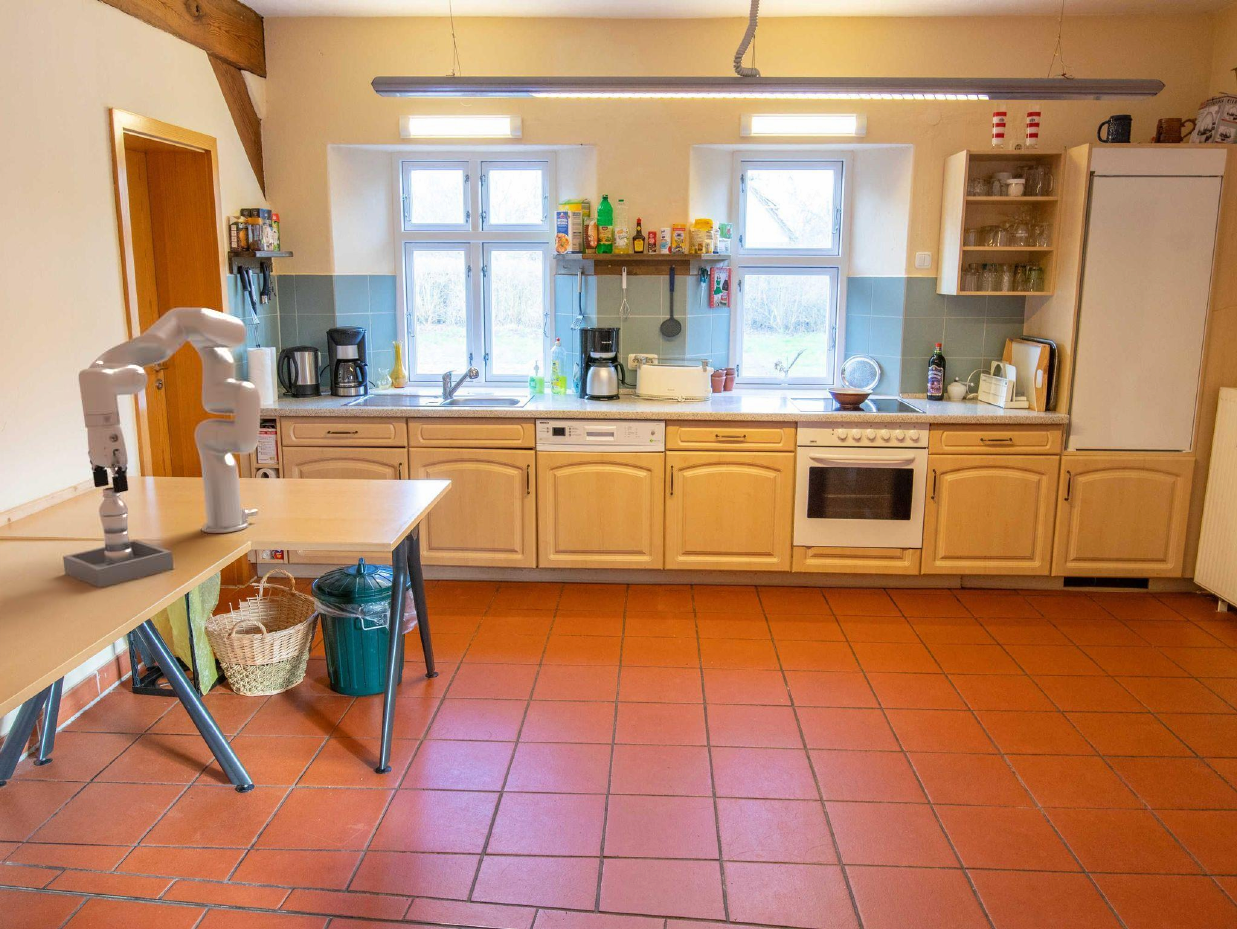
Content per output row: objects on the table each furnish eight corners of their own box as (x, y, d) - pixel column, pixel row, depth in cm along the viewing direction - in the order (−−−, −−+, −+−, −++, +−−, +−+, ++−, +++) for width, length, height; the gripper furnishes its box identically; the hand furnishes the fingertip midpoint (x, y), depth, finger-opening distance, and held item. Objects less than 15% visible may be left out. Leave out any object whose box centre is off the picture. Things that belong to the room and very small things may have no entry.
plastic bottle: (105, 573, 237) (95, 493, 233) (105, 565, 243) (96, 487, 239) (134, 569, 240) (125, 490, 235) (134, 561, 245) (125, 484, 241)
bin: (137, 556, 254) (135, 539, 253) (173, 568, 243) (171, 551, 242) (65, 573, 240) (62, 556, 239) (99, 588, 229) (97, 569, 228)
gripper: (135, 421, 231) (144, 490, 235) (100, 414, 242) (109, 481, 245) (103, 426, 226) (113, 497, 229) (69, 418, 236) (79, 487, 240)
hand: (111, 488), depth 237 cm, fingers open, 9 cm apart
